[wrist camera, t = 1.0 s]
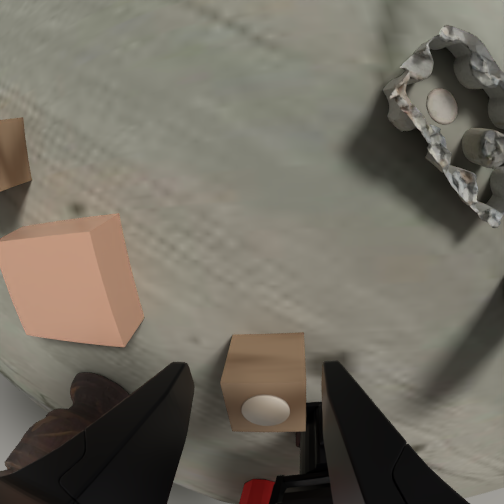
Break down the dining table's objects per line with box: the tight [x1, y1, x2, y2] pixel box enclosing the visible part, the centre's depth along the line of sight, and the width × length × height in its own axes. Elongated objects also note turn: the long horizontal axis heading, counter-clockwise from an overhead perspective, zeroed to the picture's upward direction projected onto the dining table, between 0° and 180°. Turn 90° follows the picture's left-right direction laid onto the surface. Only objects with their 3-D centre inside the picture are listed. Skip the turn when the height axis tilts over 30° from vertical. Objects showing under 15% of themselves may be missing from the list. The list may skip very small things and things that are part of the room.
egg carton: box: [383, 25, 504, 228], centre depth 14 cm, size 11×8×4 cm
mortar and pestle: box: [0, 372, 129, 476], centre depth 18 cm, size 12×9×20 cm
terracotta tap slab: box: [0, 213, 144, 347], centre depth 20 cm, size 8×10×4 cm
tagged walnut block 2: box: [220, 333, 306, 432], centre depth 21 cm, size 5×5×5 cm
